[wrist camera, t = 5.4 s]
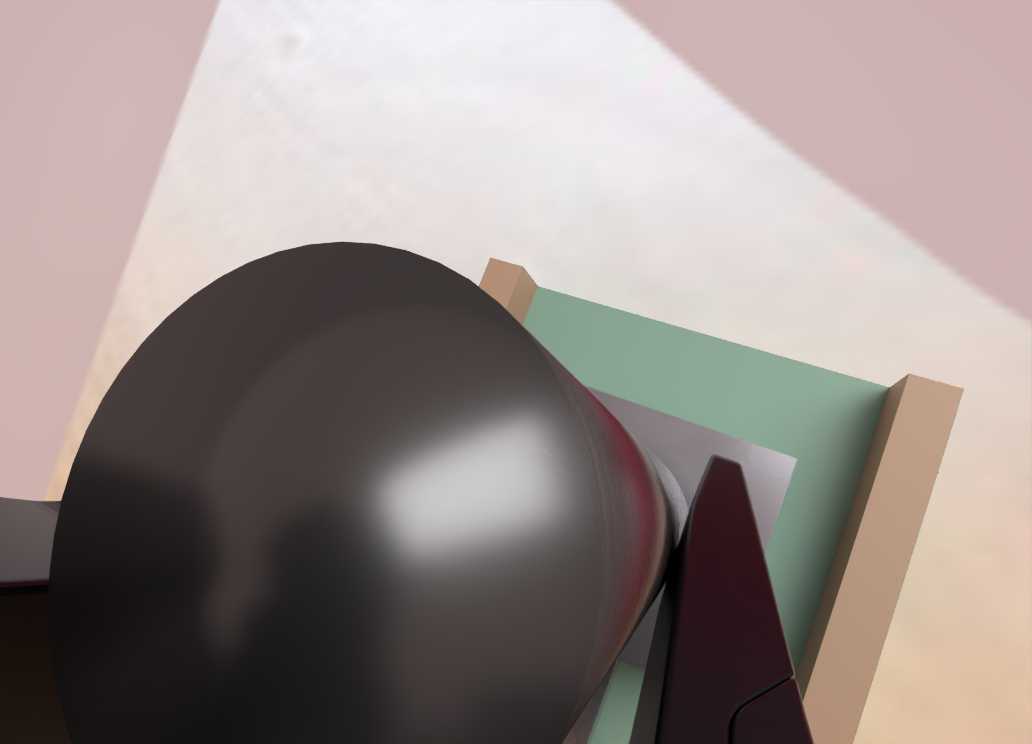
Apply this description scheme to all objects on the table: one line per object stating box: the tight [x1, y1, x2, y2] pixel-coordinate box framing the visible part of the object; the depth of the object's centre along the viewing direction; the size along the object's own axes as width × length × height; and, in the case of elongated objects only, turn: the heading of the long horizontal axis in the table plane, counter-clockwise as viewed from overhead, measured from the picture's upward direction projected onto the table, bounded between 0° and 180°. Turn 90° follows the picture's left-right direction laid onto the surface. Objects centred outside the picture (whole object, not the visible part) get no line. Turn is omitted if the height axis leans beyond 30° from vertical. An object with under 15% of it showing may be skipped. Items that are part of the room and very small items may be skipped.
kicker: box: [48, 242, 797, 744], centre depth 9 cm, size 10×8×13 cm
